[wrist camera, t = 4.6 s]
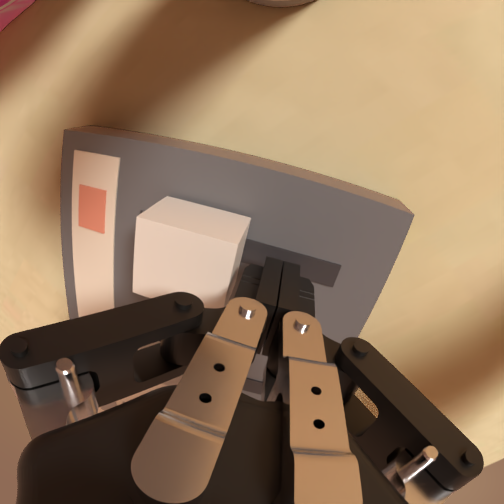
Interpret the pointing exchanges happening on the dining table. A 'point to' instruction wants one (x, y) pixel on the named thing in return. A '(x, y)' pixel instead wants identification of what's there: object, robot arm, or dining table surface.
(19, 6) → the gum box
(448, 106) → the dining table surface
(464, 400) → the dining table surface
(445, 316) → the dining table surface
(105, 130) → the switch housing
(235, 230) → the white block
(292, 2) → the travel mug
